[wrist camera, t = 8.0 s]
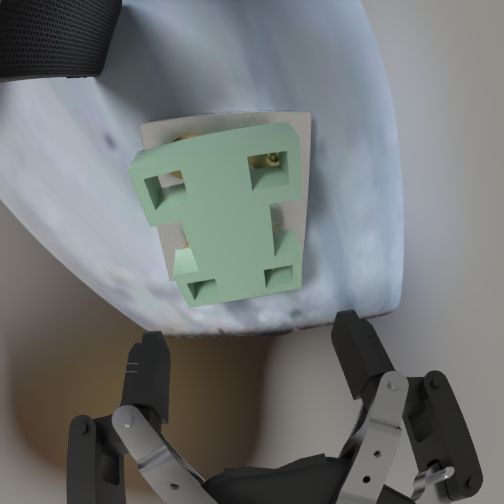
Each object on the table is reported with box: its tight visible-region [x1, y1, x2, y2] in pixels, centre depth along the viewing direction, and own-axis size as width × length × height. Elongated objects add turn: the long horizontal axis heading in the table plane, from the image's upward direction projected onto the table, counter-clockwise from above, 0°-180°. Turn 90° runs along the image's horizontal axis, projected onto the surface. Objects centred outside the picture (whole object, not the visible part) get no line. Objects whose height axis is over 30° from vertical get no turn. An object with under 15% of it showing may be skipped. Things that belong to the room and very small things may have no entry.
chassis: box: [140, 111, 311, 281], centre depth 23 cm, size 14×16×5 cm
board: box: [128, 122, 302, 308], centre depth 21 cm, size 10×14×3 cm
